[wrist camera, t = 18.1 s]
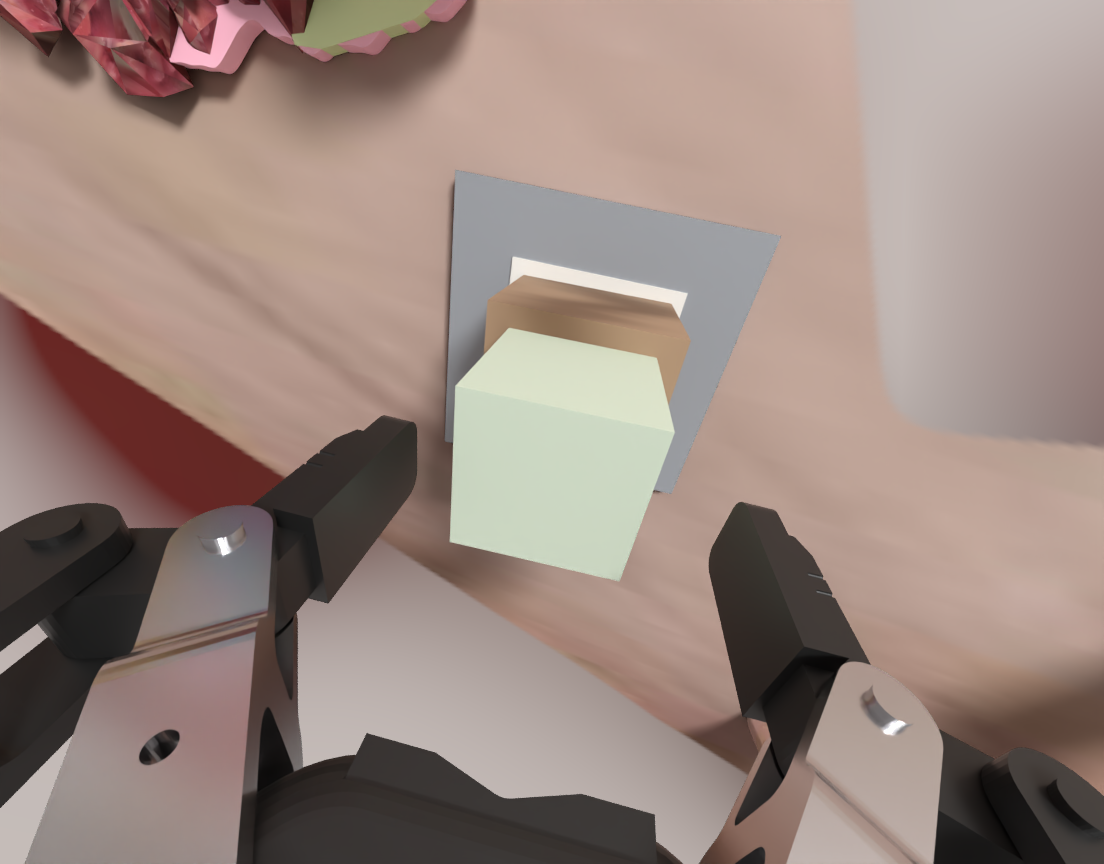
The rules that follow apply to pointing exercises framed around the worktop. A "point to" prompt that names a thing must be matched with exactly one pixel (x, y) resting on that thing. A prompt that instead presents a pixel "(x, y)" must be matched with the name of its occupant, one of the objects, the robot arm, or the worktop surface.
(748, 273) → the pad
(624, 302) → the walnut block
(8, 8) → the candy landscape model
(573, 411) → the sage cube
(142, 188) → the worktop surface
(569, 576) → the worktop surface
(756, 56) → the worktop surface
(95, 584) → the robot arm
